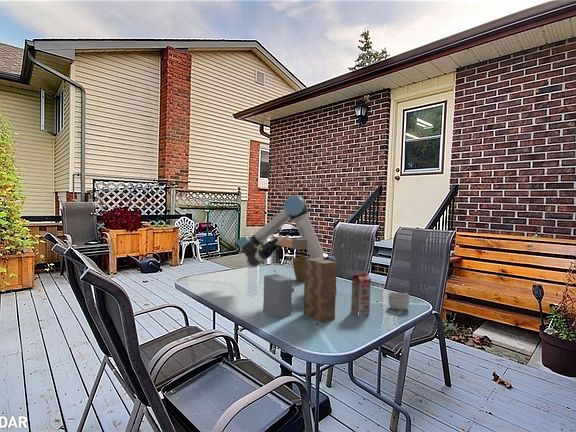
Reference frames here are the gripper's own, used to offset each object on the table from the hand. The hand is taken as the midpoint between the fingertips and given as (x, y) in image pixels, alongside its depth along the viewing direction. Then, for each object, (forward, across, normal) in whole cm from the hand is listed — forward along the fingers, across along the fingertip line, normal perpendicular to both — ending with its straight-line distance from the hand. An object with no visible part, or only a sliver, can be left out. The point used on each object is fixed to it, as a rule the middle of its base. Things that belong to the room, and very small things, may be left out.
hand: (285, 237), depth 180 cm
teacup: (+15, -51, -52) cm, 75 cm away
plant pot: (-51, -45, -13) cm, 70 cm away
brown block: (+1, 0, -6) cm, 6 cm away
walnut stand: (+3, -4, -45) cm, 45 cm away
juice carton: (+10, -25, -49) cm, 56 cm away
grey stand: (-11, +10, -37) cm, 40 cm away
